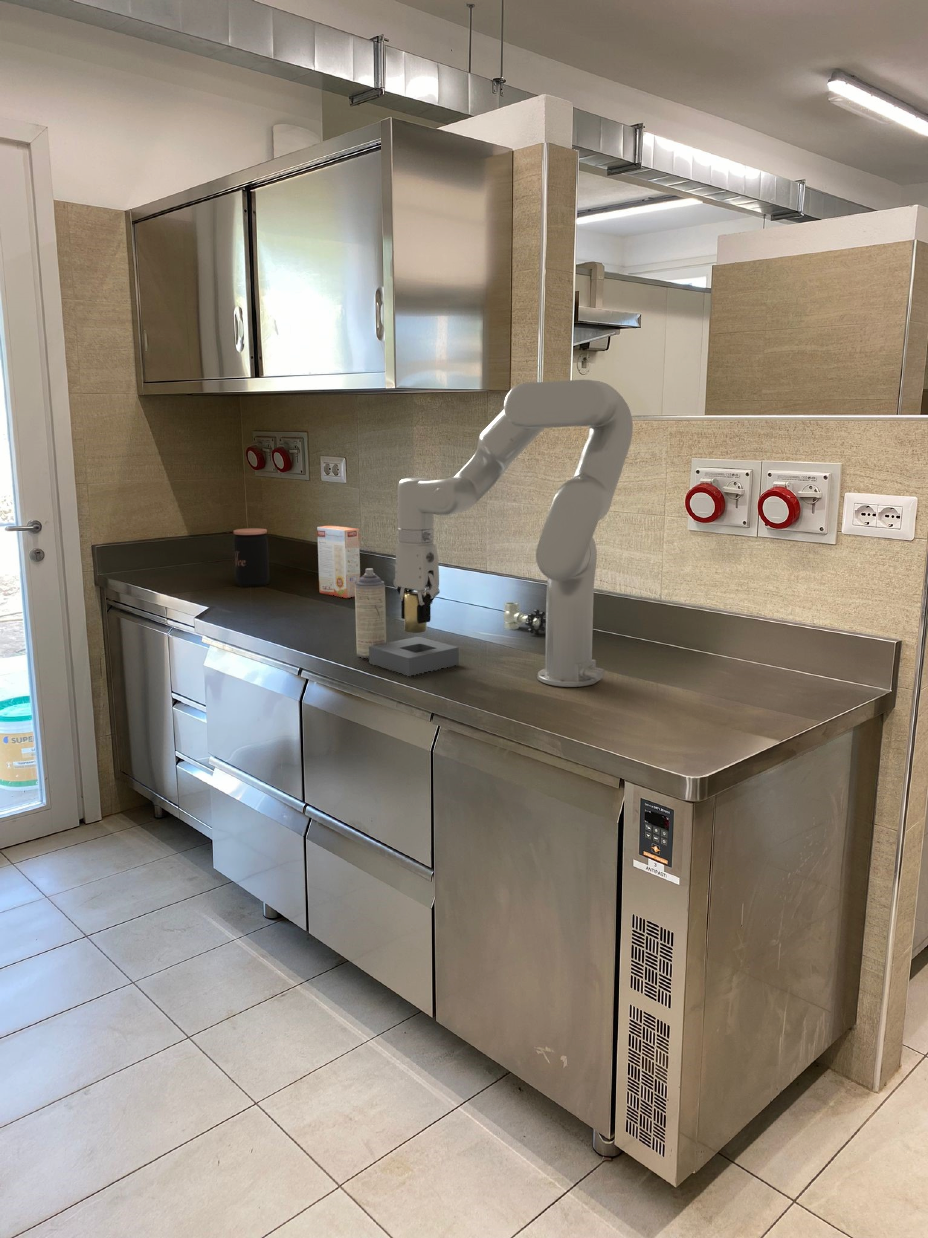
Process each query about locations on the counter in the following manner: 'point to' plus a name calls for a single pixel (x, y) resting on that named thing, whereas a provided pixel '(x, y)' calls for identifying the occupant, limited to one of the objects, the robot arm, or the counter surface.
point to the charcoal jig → (414, 655)
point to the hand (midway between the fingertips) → (415, 619)
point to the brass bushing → (412, 613)
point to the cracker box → (338, 560)
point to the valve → (522, 618)
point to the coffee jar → (251, 557)
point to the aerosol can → (369, 612)
